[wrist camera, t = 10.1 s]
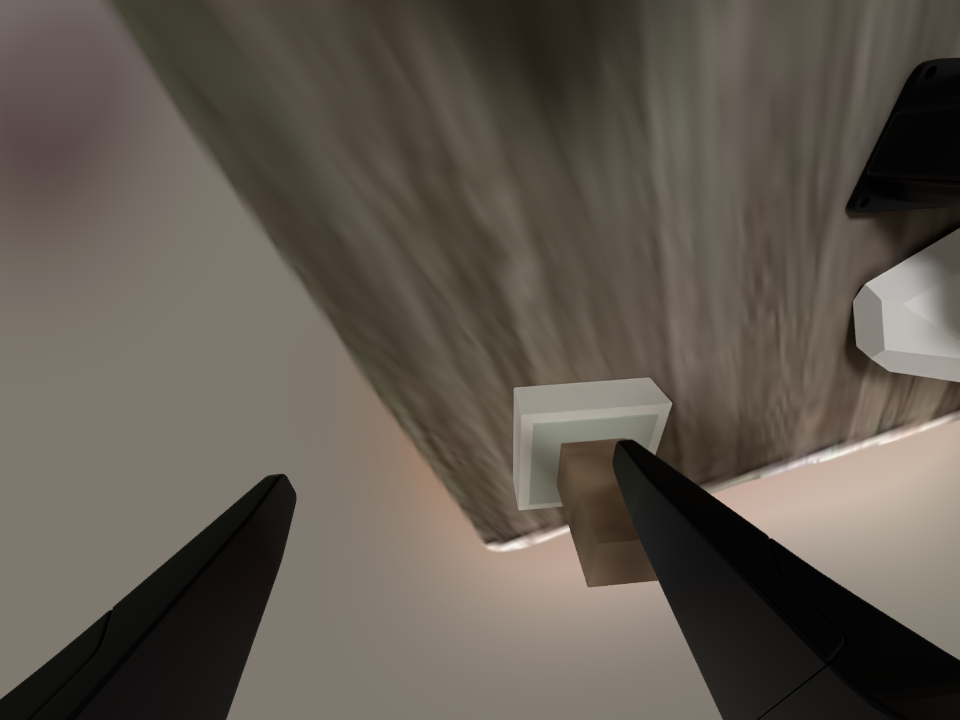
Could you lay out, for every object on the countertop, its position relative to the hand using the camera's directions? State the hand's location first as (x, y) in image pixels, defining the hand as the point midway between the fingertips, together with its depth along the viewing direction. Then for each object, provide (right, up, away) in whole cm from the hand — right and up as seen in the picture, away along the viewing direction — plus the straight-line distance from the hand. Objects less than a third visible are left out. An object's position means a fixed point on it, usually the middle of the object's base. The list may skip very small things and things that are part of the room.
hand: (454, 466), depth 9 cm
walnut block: (+9, -5, +15) cm, 18 cm away
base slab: (+8, -3, +18) cm, 20 cm away
